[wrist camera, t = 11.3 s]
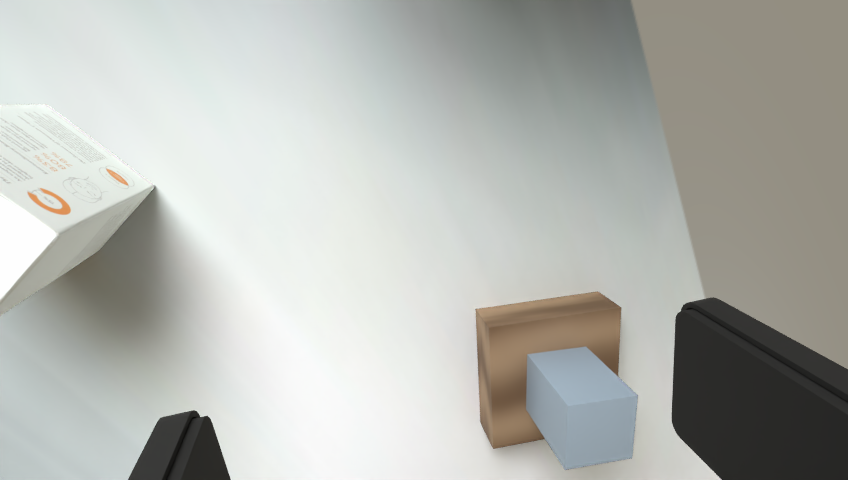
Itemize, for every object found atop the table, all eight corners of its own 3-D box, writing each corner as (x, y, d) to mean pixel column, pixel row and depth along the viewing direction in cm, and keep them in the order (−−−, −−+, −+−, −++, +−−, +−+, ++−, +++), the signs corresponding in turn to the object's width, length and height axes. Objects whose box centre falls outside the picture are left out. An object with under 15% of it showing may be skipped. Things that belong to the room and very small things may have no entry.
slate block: (527, 354, 39) (568, 406, 32) (586, 346, 39) (637, 395, 33) (526, 409, 40) (564, 469, 33) (583, 400, 41) (631, 458, 34)
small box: (-15, 175, 31) (-236, 220, 19) (47, 101, 31) (-138, 99, 19) (100, 253, 34) (-29, 338, 22) (159, 186, 34) (61, 233, 21)
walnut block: (474, 307, 41) (488, 327, 37) (595, 289, 43) (621, 307, 39) (479, 419, 44) (493, 448, 40) (591, 398, 46) (615, 425, 42)
